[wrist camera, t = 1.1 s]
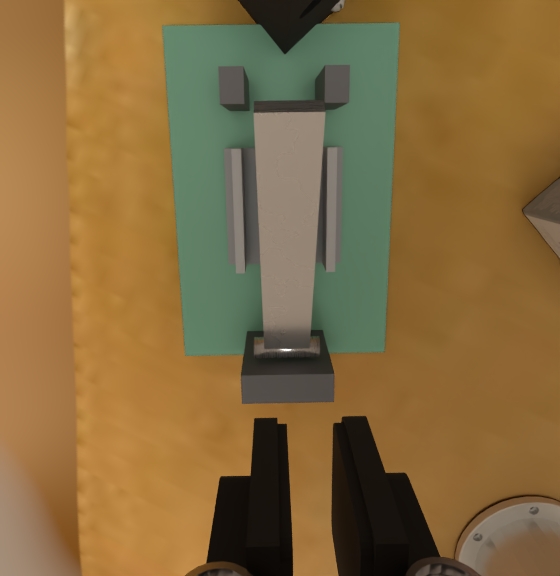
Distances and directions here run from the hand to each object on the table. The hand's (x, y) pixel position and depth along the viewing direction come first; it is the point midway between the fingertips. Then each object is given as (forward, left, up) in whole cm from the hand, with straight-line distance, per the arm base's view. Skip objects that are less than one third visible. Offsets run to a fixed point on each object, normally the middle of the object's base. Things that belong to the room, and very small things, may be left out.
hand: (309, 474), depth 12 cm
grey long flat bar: (+2, 0, -18) cm, 18 cm away
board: (+3, 0, -29) cm, 29 cm away
